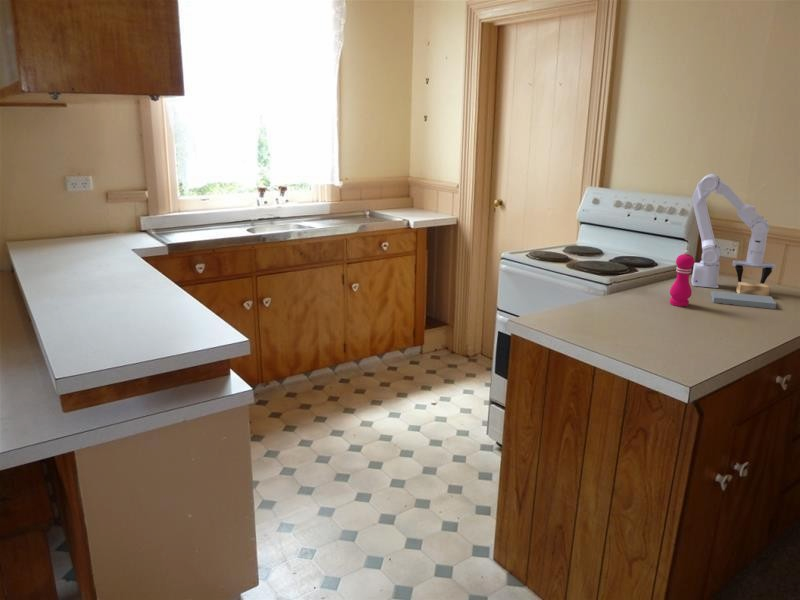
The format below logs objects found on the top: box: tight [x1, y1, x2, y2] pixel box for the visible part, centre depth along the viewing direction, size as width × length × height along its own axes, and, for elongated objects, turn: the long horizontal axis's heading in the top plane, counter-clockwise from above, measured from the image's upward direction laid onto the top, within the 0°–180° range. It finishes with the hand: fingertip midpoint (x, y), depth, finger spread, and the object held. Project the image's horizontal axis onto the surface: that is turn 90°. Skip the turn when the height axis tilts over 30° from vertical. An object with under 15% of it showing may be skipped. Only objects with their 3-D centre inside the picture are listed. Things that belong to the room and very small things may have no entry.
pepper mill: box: [669, 249, 695, 307], centre depth 225 cm, size 7×7×20 cm
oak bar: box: [735, 281, 771, 296], centre depth 240 cm, size 10×5×4 cm, turn 74°
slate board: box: [710, 290, 777, 310], centre depth 231 cm, size 20×10×2 cm, turn 70°
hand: (750, 285), depth 246 cm, fingers open, 7 cm apart
